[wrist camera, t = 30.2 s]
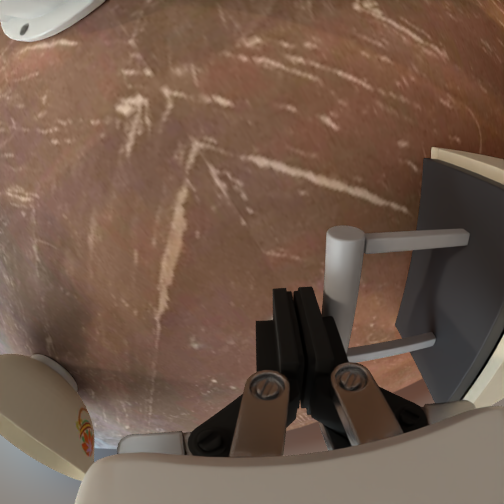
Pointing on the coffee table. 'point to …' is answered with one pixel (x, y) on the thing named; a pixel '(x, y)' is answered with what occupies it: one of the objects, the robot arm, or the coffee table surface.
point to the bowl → (45, 414)
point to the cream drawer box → (500, 364)
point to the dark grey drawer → (433, 280)
